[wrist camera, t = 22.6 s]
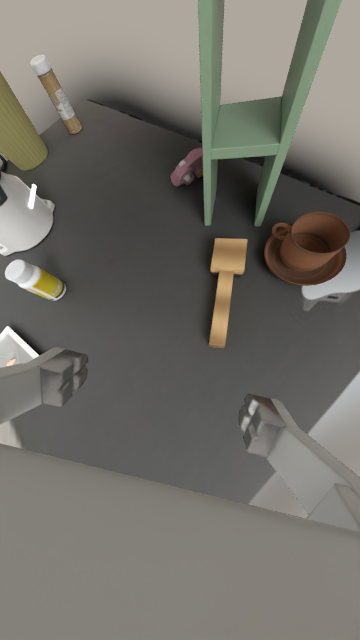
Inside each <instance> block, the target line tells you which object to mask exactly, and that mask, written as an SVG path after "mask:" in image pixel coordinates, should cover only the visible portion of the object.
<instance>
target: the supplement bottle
mask: <svg viewBox="0 0 360 640" xmlns="http://www.w3.org/2000/svg"><path fill="white" fill-rule="evenodd" d="M5 276H6V278H7V279H9V280H11V281H13V282H15V283H17V284H18V285H19V286H20V287H21V288H23V289H26V290H28V291H30V292H33V293H35V294H37V295H40V296H42V297H44V298H46V299H49V300H52V301H55V300H58V299H60V298H61V297H62V296H63V295H64V294H65V292H66V285H65V283H64V282H62V281H61V280H59V279H57V278H56V277H54V276H52V275H51V274H49V273H47V272H46V271H44V270H42V269H41V268H39V267H37V266H34V265H30V264H29V263H27V262H25V261H23V260H15V261H13V262H12V263H10V264H9V265H8V267H7V268H6V271H5Z"/></svg>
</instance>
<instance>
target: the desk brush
mask: <svg viewBox="0 0 360 640" xmlns="http://www.w3.org/2000/svg"><path fill="white" fill-rule="evenodd" d="M246 248H247V239H224V238H215V243H214V250H213V256H212V262H211V272H212V275H214V276H219V278H218V285H217V292H216V299H215V306H214V313H213V320H212V327H211V333H210V340H209V346H212V347H218V348H224V347H225V342H226V334H227V325H228V317H229V309H230V300H231V292H232V283H233V277H240V275H241V274H243V272H244V268H245V258H246Z"/></svg>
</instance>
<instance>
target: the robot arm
mask: <svg viewBox="0 0 360 640" xmlns="http://www.w3.org/2000/svg"><path fill="white" fill-rule="evenodd" d="M0 158H1V160H2V161H3V165H2V168H1V170H0V254H2V255H3V256H7V255H9V254H11V253H13V252H18V251H24V250H27V249H30V248H32V247H34V246H35V245H37V244H38V243H39V242H41V241H42V240H43V239H44V238H45V236H46V235H47V234H48V232H49V231H50V229H51V227H52V224H53V210H54V207H55V204H54V203H53V202H52V201H50V200H46V199H41V198H39V197H38V196H37V195H36V194H35V192H36V186H35V185H34V184H33V185H32V190H31V189H30V188H29V187H28V186H27V185H26V184H25V183H23V182H22V181H21V180H20V179H19V178H18V177H17V176H13V175H11V174H6V173H4V172H5V169H6V165H7V164H6V160H5V159H4V158H3V157H2V156H1V155H0ZM87 363H88V356H87V355H86V354H83V353H79V352H75V351H72V350H68V349H64V348H60V347H54V348H52V349H50V350H49V351H47V352H45V353H43V354H41V355H40V356H38V357H36V358H34V359H33V360H31V361H29V362H27V363H25V364H23V363H20V364H15V365H10V366H6V367H1V368H0V424H2V423H4V422H6V421H8V420H10V419H12V418H14V417H16V416H18V415H21V414H23V413H25V412H27V411H29V410H31V409H33V408H35V407H37V406H39V405H41V404H42V403H45V404H50V405H54V406H59V407H62V406H63V405H64V404H65V403H66V402H67V401H68V400H69V399H70V397H71V396H72V391H75V390H77V389H79V388H80V387H81V386H82V385H83V383H84V381H85V380H86V377H87V372H88V370H87V368H86V366H85V365H86V364H87ZM244 401H245V403H246V404H245V405H243V406H242V407H241V408H240V411H239V425H240V428H241V429H242V430H243V432H244V433H245V434H244V436H243V439H244V442H245V445H246V449H247V452H248V453H252V454H256V455H259V456H263V457H266V458H267V460H268V461H269V462H270V464H271V465H272V466H273V468H274V469H275V470H276V472H277V473H278V474H279V476H280V477H281V479H282V480H283V481H284V482H285V484H286V485H287V486H288V488H289V489H290V491H291V492H292V493H293V495H294V496H295V497H296V499H297V500H298V501H299V503H300V504H301V505H302V507H303V508H304V510H305V511H306V512H307V514H308V515H309V516H308V517H307V518H306V519H305V518H301V517H297V516H293V515H289V514H285V513H281V512H277V511H272V510H269V509H265V508H261V507H256V506H252V505H248V504H244V503H240V502H236V501H232V500H228V499H224V498H220V497H215V496H211V495H207V494H203V493H199V492H195V491H191V490H187V489H183V488H179V487H174V486H170V485H166V484H162V483H158V482H154V481H150V480H146V479H142V478H138V477H134V476H130V475H126V474H122V473H118V472H113V471H109V470H105V469H101V468H97V467H93V466H89V465H85V464H81V463H77V462H73V461H69V460H65V459H61V458H57V457H53V456H48V455H44V454H40V453H36V452H32V451H28V450H24V449H20V448H16V447H12V446H8V445H4V444H0V640H360V477H359V476H358V475H356V474H355V473H354V472H353V471H352V470H350V469H349V468H348V467H347V466H345V465H344V464H343V463H342V462H340V461H339V460H338V459H337V458H336V457H334V456H333V455H332V454H331V453H330V452H328V451H327V450H326V449H325V448H324V447H322V446H321V445H320V444H319V443H317V442H316V441H315V440H314V439H312V438H311V437H310V436H309V435H308V434H306V433H305V432H304V431H300V429H299V428H298V426H297V425H296V423H295V422H294V420H293V419H292V417H291V416H290V414H289V413H288V411H287V410H286V408H285V407H284V405H283V404H282V402H281V401H279V400H276V399H271V398H265V397H261V396H256V395H252V394H247V395H246V397H245V399H244Z"/></svg>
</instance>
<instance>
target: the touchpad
mask: <svg viewBox="0 0 360 640" xmlns="http://www.w3.org/2000/svg"><path fill="white" fill-rule="evenodd" d="M38 356H39V355H38V354H37V353H36V352H35V351H34V350H33V349H32V348H31V347H30V346H29V345H28V344H27V343H26V342H24V341H23V340H22V339H21V338H20V337H19V336H18V335H17V334H16V333H15V332H14V331H13V330H12V329H11V328H10V327H9V326H7V327H6V328H5V330H4V331H3V332H2V333H1V334H0V368H1V367H6V366H10V365H15V364H20V363H23V364H25V363H27V362H29V361H31V360H33V359H34V358H36V357H38Z"/></svg>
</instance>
